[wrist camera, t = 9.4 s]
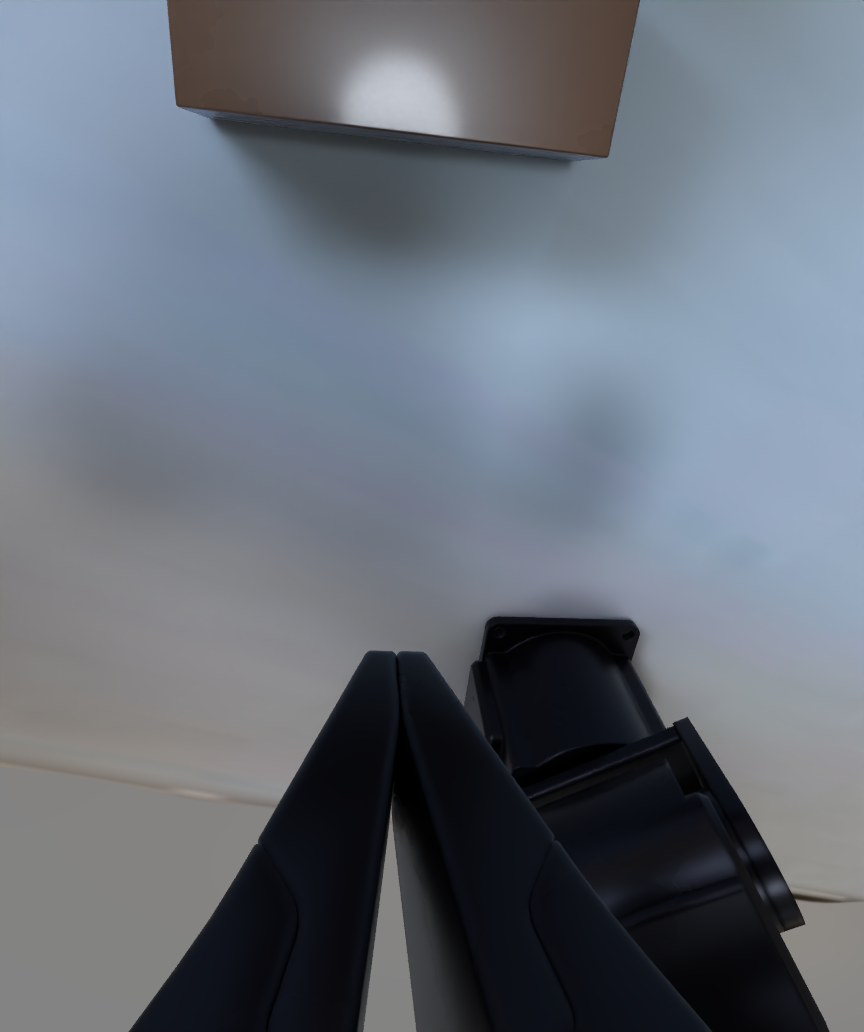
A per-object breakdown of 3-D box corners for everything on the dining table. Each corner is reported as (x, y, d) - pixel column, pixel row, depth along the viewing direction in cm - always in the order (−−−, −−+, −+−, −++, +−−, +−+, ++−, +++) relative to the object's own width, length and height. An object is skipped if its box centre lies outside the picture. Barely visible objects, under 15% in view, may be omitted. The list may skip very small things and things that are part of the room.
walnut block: (606, -22, 15) (653, -64, 13) (573, 161, 17) (608, 158, 15) (194, -85, 14) (153, -147, 11) (208, 118, 16) (175, 106, 13)
